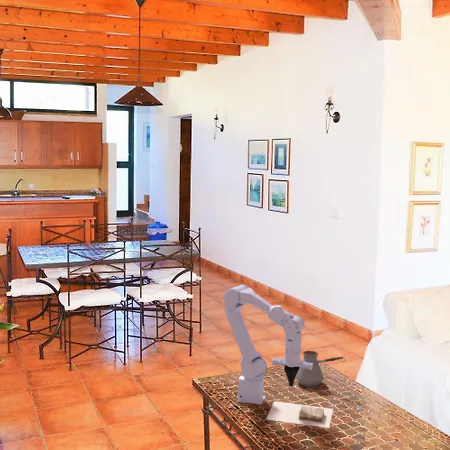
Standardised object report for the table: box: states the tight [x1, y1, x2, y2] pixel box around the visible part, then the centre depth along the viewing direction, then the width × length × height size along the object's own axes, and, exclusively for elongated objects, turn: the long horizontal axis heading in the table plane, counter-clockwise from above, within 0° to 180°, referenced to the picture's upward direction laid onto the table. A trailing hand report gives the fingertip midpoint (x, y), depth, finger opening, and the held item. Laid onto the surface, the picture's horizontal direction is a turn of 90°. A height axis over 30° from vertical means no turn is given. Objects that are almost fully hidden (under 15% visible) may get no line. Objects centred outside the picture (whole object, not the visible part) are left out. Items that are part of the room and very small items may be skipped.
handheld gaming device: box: [328, 394, 363, 412], centre depth 223 cm, size 9×1×15 cm
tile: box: [299, 406, 324, 422], centre depth 211 cm, size 2×7×8 cm
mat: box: [265, 400, 334, 429], centre depth 213 cm, size 22×16×1 cm
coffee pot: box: [295, 350, 346, 388], centre depth 239 cm, size 21×12×15 cm, turn 48°
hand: (291, 385), depth 216 cm, fingers closed
